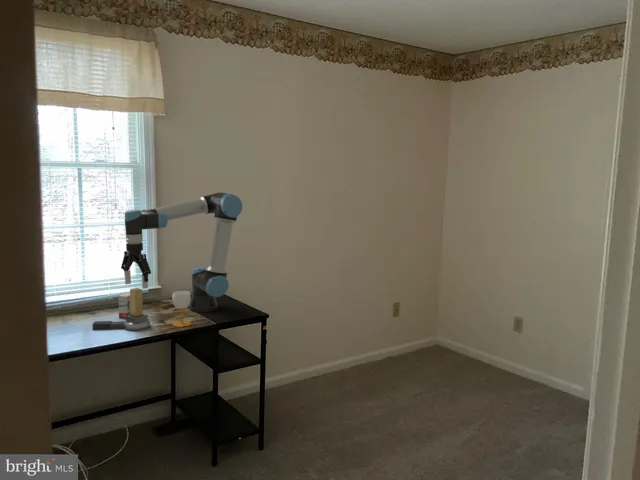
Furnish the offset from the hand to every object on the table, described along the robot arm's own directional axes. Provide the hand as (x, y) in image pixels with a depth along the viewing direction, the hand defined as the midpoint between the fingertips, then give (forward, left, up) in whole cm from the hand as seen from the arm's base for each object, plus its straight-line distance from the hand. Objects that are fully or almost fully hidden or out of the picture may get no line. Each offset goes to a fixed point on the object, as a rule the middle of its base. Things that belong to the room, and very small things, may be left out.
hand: (136, 286), depth 258 cm
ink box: (+8, -19, -21) cm, 29 cm away
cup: (-21, -3, -21) cm, 29 cm away
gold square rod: (0, 0, -18) cm, 18 cm away
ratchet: (+7, 0, -20) cm, 22 cm away
